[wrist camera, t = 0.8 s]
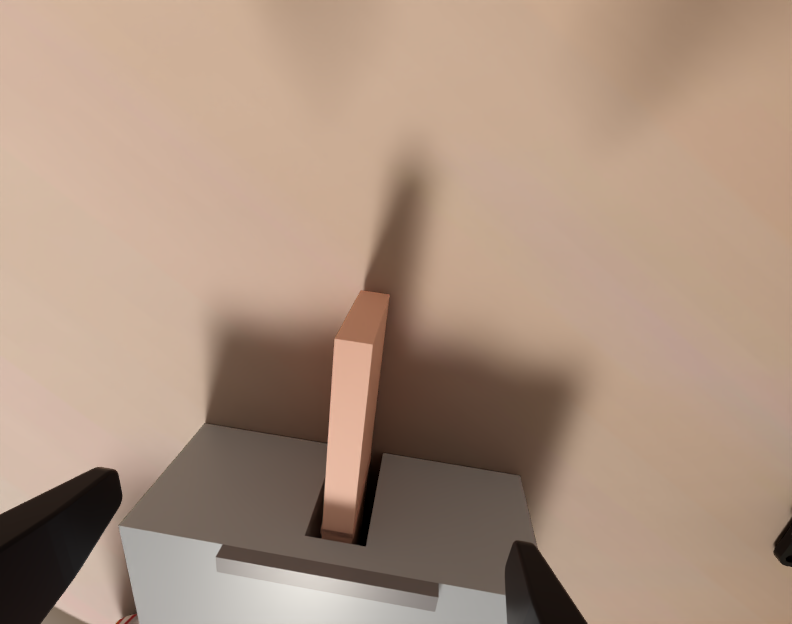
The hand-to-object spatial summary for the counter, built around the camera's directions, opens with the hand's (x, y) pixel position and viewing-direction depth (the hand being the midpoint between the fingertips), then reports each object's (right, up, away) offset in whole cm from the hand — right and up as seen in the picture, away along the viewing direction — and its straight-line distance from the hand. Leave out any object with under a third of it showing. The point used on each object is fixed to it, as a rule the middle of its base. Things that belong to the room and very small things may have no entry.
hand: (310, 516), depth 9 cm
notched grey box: (-1, -8, +14) cm, 16 cm away
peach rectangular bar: (0, -1, +11) cm, 11 cm away
